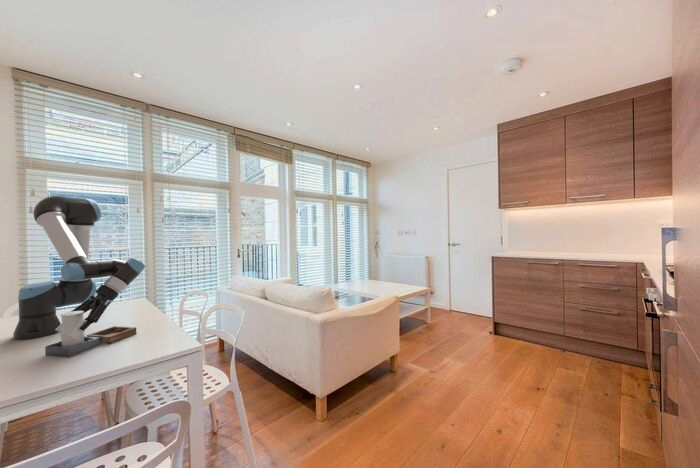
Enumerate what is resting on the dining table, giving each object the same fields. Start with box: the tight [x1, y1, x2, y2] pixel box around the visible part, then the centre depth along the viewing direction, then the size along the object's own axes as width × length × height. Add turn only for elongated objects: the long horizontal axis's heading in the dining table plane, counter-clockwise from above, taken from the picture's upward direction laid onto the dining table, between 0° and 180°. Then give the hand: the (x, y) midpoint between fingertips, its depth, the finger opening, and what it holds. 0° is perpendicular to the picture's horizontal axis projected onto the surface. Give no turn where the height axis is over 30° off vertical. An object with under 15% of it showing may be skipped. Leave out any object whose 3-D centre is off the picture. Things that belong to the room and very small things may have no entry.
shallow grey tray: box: [44, 336, 100, 359], centre depth 113 cm, size 11×11×4 cm
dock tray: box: [86, 325, 137, 345], centre depth 127 cm, size 12×12×3 cm
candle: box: [60, 310, 86, 347], centre depth 113 cm, size 7×7×15 cm
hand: (65, 334), depth 111 cm, fingers open, 13 cm apart
